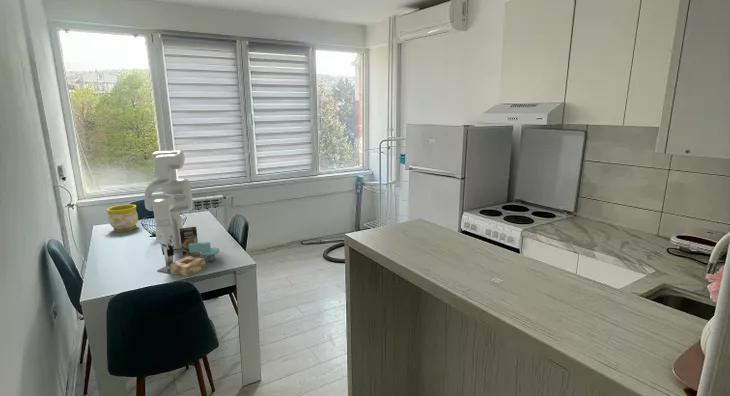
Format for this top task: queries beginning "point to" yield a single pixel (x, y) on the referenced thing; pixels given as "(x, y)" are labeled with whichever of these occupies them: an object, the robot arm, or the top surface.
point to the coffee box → (188, 240)
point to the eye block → (187, 266)
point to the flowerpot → (123, 217)
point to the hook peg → (167, 259)
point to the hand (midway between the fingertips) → (168, 254)
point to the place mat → (165, 269)
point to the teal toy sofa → (204, 250)
